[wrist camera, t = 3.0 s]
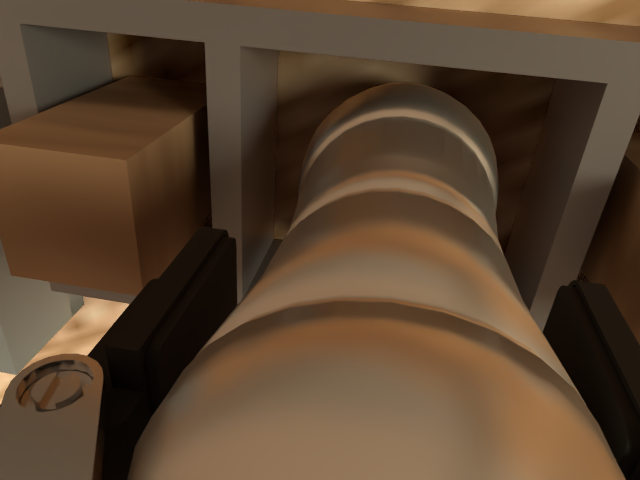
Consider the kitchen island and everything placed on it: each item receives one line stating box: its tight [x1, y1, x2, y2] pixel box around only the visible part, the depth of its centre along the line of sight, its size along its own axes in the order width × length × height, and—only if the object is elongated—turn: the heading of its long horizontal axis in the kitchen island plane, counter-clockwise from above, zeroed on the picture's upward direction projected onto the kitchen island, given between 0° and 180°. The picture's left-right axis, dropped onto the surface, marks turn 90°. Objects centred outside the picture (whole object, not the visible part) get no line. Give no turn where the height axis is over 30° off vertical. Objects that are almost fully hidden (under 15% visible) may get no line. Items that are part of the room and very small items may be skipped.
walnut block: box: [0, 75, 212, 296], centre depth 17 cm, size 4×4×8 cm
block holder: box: [0, 0, 640, 332], centre depth 17 cm, size 10×24×4 cm, turn 86°
